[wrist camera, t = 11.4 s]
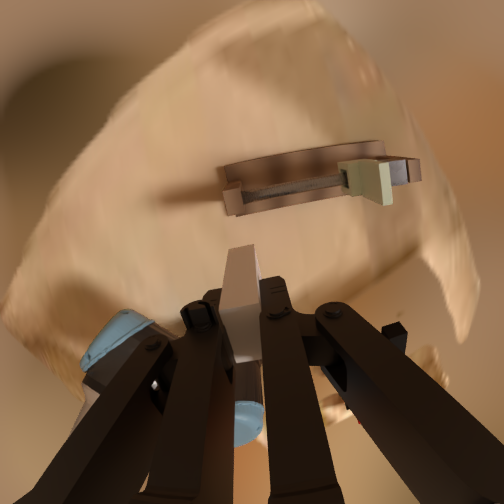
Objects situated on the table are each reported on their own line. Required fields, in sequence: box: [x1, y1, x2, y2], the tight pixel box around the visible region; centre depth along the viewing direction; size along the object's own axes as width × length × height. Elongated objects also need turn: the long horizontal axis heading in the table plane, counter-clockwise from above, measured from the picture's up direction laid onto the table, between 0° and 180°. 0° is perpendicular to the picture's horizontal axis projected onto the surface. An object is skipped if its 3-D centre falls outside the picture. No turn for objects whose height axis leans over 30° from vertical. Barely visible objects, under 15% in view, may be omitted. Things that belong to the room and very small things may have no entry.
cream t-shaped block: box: [337, 159, 393, 206], centre depth 30 cm, size 4×4×10 cm
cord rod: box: [241, 158, 408, 204], centre depth 33 cm, size 24×3×3 cm, turn 102°
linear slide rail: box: [222, 141, 422, 217], centre depth 37 cm, size 26×8×12 cm, turn 102°
